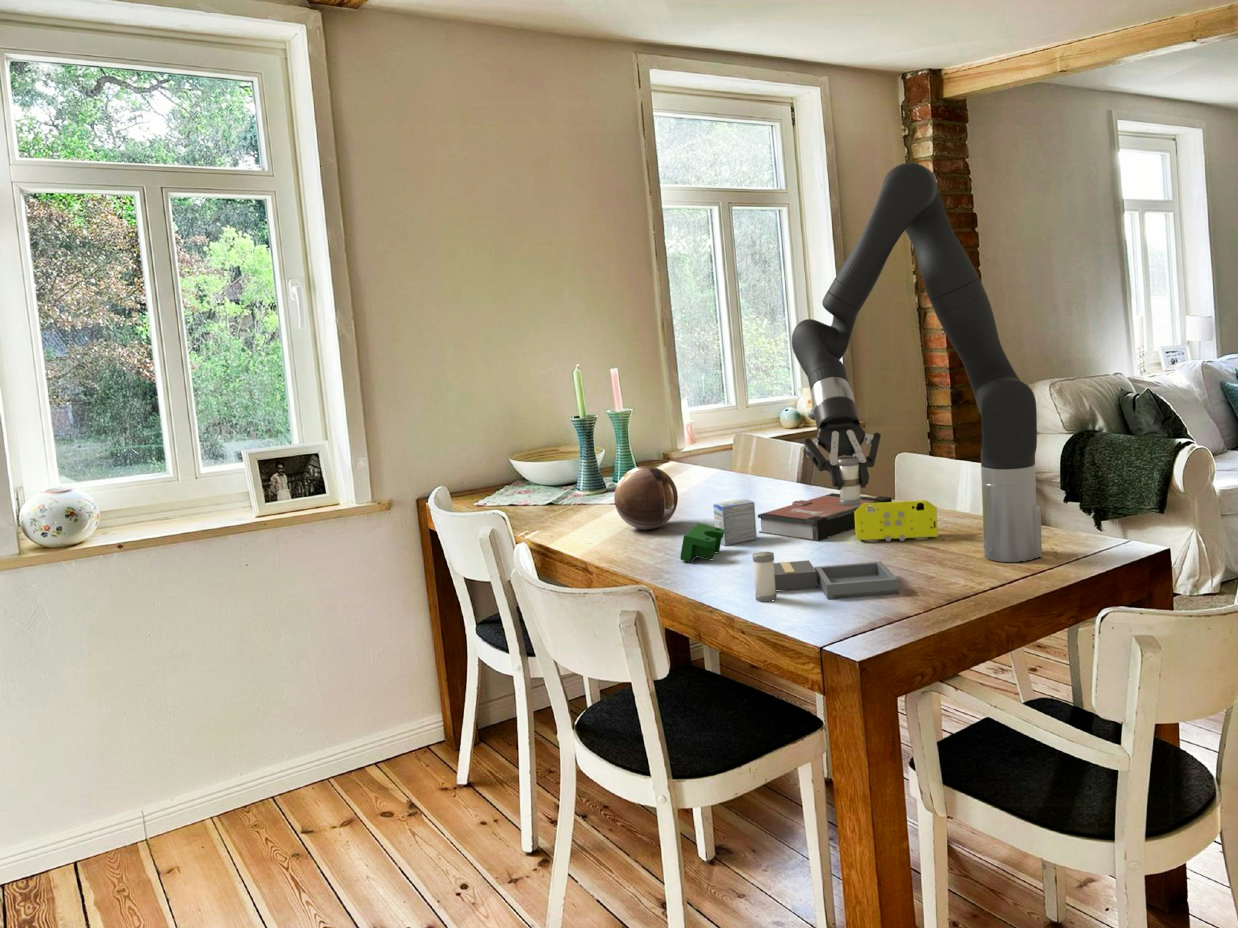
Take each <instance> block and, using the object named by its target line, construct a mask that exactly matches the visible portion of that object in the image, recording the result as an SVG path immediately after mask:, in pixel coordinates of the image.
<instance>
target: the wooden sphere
mask: <svg viewBox="0 0 1238 928" xmlns="http://www.w3.org/2000/svg"><path fill="white" fill-rule="evenodd" d="M614 490H615V491H614V499H613V500H614V504H615V509H616V511H617V513H618V515H619V516H620V518H621V519H622V520H623V521H624V522H625V523H626V524H627V525H629V526H631V527H633V528H634V529H639V530H647V531H648V530H654V529H657V528H660V527H662V526H663V525H665V524H666V523H667V522H669V521H670V519H671V518H672V517H673V515H674V514H675V512H676V510H677V506H678V501H679V500H678V498H679V496H678V490H677V487H676V484H675V482H674V481H673V479H672V477H671V476H670V475H669V474H668V473H667V472H665V471H663V470H662V469H661V468H660V469H659V468H657V467H654V466H649V465H644V466H637V467H634V468H632V469H631V470H628V471H627V472H625V474H623V476H622V477H620V479H619V480H618V482H617V485H616V487H615V489H614Z"/></svg>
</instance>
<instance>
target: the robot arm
mask: <svg viewBox="0 0 1238 928" xmlns="http://www.w3.org/2000/svg"><path fill="white" fill-rule="evenodd" d="M904 232H905V233H906V234H907V236H908V239H909V240H910V243H911V244H912V247H913V249H914V253H915V257H916V260H917V265H918V268H919V272H920V277H921V279H922V283H923V286H924V288H925V292H926V295H927V297H928V299H929V302H930V304H931V307H932V309H933V310H934V313H935V315H936V317H937V320H938V321H939V325H941V328H942V329H943V331H944V333H945V335H946V337H947V338H948V340H949V342H950V343H951V345H952V347H953V349H954V350H955V352H956V354H958V355H957V356H958V357H959V360H961V362H962V364H963V366H964V369H965V372H966V374H967V377H968V381H969V383H970V387H971V389H972V393H973V395H974V400H975V402H976V406H977V409H978V412H979V414H980V415H981V416H980V417H981V450H980V474H981V475H980V477H981V497H982V498H981V502H982V504H981V505H982V522H983V523H982V524H983V525H982V526H983V528H982V529H983V530H982V531H983V533H982V534H983V553H984V554H983V555H984V556H983V557H985V558H986V559H988V560H990V561H995V562H1000V563H1021V562H1020V561H1023V562H1028V561H1027V560H1029V561H1033V560H1035V559H1034V558H1036V559H1039V558H1038V557H1042V558H1043V547H1042V546H1043V545H1042V543H1043V540H1042V509H1041V506H1039V505H1038V504H1037V488H1036V487H1037V485H1036V483H1037V482H1036V481H1037V480H1036V453H1037V452H1036V451H1037V447H1038V446H1037V445H1038V425H1037V424H1038V423H1037V421H1038V420H1037V419H1038V418H1037V417H1038V415H1037V414H1038V413H1037V412H1038V411H1037V409H1038V408H1037V401H1036V396H1035V394H1034V392H1033V390H1032V388H1031V387H1030V386H1029V385H1028V384H1026V383H1025V382H1024V381H1022V380H1021V379H1020V378H1019V377H1018V375H1017V373H1016V371H1015V369H1014V368H1013V366H1012V364H1011V363H1010V361H1009V358H1008V357H1007V355H1006V353H1005V350H1004V349H1003V347H1002V344H1001V341H1000V337H999V333H998V329H997V325H996V320H995V316H994V312H993V309H992V304H991V303H990V300H989V297H988V295H987V292H986V290H985V288H984V285H983V283H982V281H981V279H980V277H979V274H978V272H977V270H976V268H975V267H974V265H973V263H972V261H971V259H970V257H969V256H968V254H967V252H966V250H965V248H964V246H963V245H962V244H961V242H960V241H959V239H958V237H957V236H956V234H955V231H954V230H953V228H952V226H951V223H950V221H949V219H948V215H947V213H946V209H945V206H944V203H943V200H942V197H941V195H940V189H939V187H938V182H937V179H936V177H935V175H934V174H933V172H932V171H931V170H930V169H929V168H928V167H926V166H924V165H923V164H919V163H917V162H906V163H905V162H904V163H901V164H899V165H896V166H894V168H892V169H891V170H889V172H887V174H886V175H885V177H884V179H883V182H882V186H881V189H880V191H879V194H878V196H877V199H876V201H875V204H874V207H873V209H872V211H871V214H870V216H869V218H868V220H867V223H866V225H865V227H864V229H863V230H862V232H861V234H860V236H859V238H858V239H857V242H856V243H855V245H854V247H853V248H852V250H851V251H850V252H849V255H848V256H847V258H846V259H845V260H844V263H843V264H842V266H841V267H840V269H839V271H838V273H837V274H836V276H835V278H833V281H832V282H831V284H830V286H829V288H828V290H827V291H826V293H825V295H824V297H823V299H822V306H823V308H824V309H825V311H826V312H828V313H829V314H830V315H832V316H833V317H832V322H831V325H828V324H825V323H824V322H820V321H818V320H816V319H811V318H809V319H804V320H801V321H800V322H799V323H797V325H796V326H795V327H794V330H793V331H792V335H791V348H792V352H793V353H794V356H795V359H796V360H797V362H798V363H799V365H800V367H801V369H802V371H803V372H804V374H805V376H806V377H807V380H808V385H809V389H810V396H811V397H810V398H811V399H810V401H811V406H812V408H811V410H812V413H813V416H814V420H815V425H816V430H817V435H816V437H814V438H810V437H809V438H805V440H804V445H803V451H804V452H805V453H806V455H807V456H808V458H809V459H810V461H811V462H812V463H813V464H814V465H815V467H816V469H817V470H818V471H820V472H824V471H826V472H828V473H829V475H830V481H831V485H832V487H834V488H836V490H837V491H840V490H841V489H842V478H841V474H840V469H839V466H838V463H837V459H838V458H841V457H844V456H845V457H858V458H859V464H858V465H859V477H860V489H862V488H863V489H864V488H866V487H867V485H868V484H869V481H870V475H869V470H868V468H874V466H875V463H876V458H877V454H878V449H879V446H880V441H881V437H882V436H881V433H880V432H875V433H874V434H870V433H866V431H865V429H863V428H862V426H861V421H860V418H859V414H858V410H857V406H856V402H855V398H854V394H853V391H852V389H851V386H850V384H849V379H848V374H847V371H846V368H845V366H844V363H843V362H842V361H841V359H842V358H843V356H844V355H845V354H846V352H847V350H848V347H849V343H850V340H851V337H852V333H853V329H854V326H855V324H856V320H857V317H858V314H859V312H860V311H861V309H862V307H863V305H864V304H865V302H866V301H867V299H868V298H869V296H870V294H871V292H872V291H873V289H874V286H875V285H876V283H877V282H878V279H879V277H880V275H881V273H882V271H883V268H884V266H885V265H886V263H887V260H888V259H889V257H890V254H891V252H892V251H893V250H894V248H895V245H896V244H897V242H898V240H900V238H901V237H902V235H903V233H904ZM864 442H865V443H866V445H867V446H868V448H870V449H869V454H868V455H867V456H865V455H864V453H863V450H862V447H861V446H862V445H863V443H864ZM819 446H820V447H821V448H823V450H824V451H826V452H827V453H829V454H828V455H829V456H828V459H826V457H825V456H824V455H823V454H822V453H821V451H820V449H819ZM1032 559H1033V560H1032Z"/></svg>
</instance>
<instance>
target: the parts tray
mask: <svg viewBox="0 0 1238 928" xmlns="http://www.w3.org/2000/svg"><path fill="white" fill-rule="evenodd" d="M813 567H814V569H815V570H816V574H817V586H819V589H821V591H822V593H823V594H824V596H825V597H826V599H827V600H835V599H845V598H847V599H848V598H859V597H860V598H861V597H872V596H873V597H874V596H883V595H884V596H885V595H896V594H897V595H898V594H899V593H900V590H899V578H898V577H897V576H896V575H895V574H894V573H893V572H892V571H890V569H889V568H888V567H887V565H885V564H884V563H883V561H871V562H870V561H869V562H858V563H845V564H834V565H833V564H832V565H821V566H813Z"/></svg>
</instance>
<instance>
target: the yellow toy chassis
mask: <svg viewBox="0 0 1238 928" xmlns="http://www.w3.org/2000/svg"><path fill="white" fill-rule="evenodd" d="M937 510H938V508H937V506H935V505H934V504H932V503H931V502H930V501H928V500H923V499H922V500H907V501H904V500H903V501H892V502H885V503H865V504H863V505H862V506H861V507H859V508H858V509H857V510H856V511H855V512H854V514H855V535H856V541H864V542H867V543H877V542H879V541H880V540H885V541H886V542H891V541H892V539H893V540H894V539H898V540H899V541H901V542H903V541H905V540H906V539H911V538H912V539H913V540H917V541H924V540H928V539H929V538H932V537H933V538H935V537H939V535H938V534H939V533H938V531H939V530H938V514H937V513H938V511H937Z"/></svg>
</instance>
